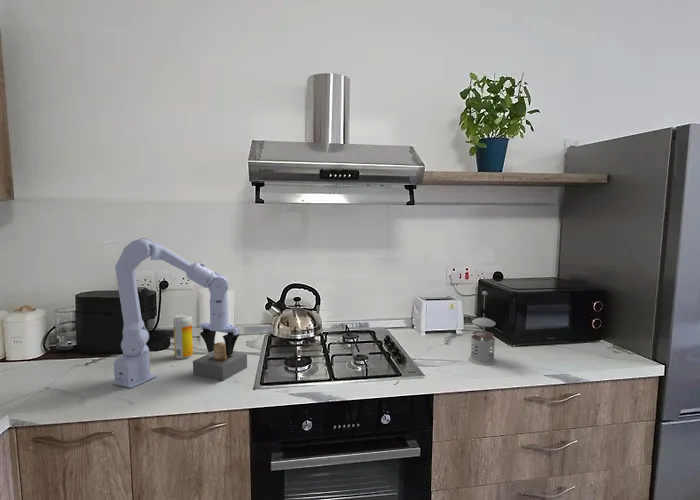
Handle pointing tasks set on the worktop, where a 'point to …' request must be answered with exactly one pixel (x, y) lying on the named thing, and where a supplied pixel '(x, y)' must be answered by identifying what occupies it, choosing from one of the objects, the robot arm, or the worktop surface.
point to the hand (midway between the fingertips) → (220, 353)
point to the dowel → (220, 352)
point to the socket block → (219, 366)
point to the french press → (482, 342)
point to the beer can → (183, 336)
